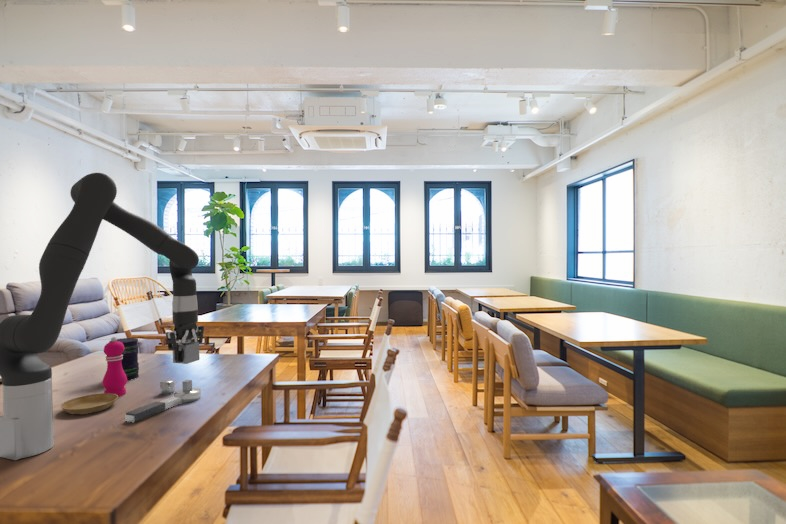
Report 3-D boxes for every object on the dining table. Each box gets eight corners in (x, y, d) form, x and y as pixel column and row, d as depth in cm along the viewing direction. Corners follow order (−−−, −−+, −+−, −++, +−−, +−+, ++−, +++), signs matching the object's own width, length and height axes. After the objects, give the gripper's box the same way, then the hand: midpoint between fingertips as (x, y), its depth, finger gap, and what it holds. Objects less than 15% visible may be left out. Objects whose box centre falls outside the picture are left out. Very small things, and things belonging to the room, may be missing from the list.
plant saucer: (129, 402, 139) (129, 394, 139) (85, 419, 125) (85, 410, 125) (94, 399, 143) (94, 391, 143) (48, 415, 129) (48, 406, 129)
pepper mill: (115, 398, 143) (113, 339, 143) (97, 397, 144) (95, 338, 144) (132, 391, 150) (131, 335, 150) (115, 390, 152) (113, 334, 151)
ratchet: (139, 424, 120) (139, 402, 120) (119, 420, 123) (118, 400, 123) (206, 396, 144) (205, 378, 144) (187, 394, 147) (187, 376, 147)
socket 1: (167, 395, 146) (166, 383, 146) (157, 394, 147) (157, 382, 147) (177, 391, 150) (177, 380, 150) (168, 390, 151) (167, 379, 151)
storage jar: (128, 381, 163) (127, 342, 162) (103, 382, 163) (102, 343, 163) (144, 374, 173) (143, 337, 172) (120, 374, 173) (119, 338, 173)
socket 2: (186, 363, 138) (185, 343, 138) (172, 362, 140) (172, 342, 140) (199, 359, 143) (199, 339, 143) (186, 358, 145) (186, 338, 145)
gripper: (193, 306, 149) (194, 354, 150) (158, 311, 136) (159, 364, 136) (210, 306, 147) (211, 355, 147) (176, 312, 133) (177, 366, 133)
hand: (186, 359), depth 141 cm, fingers closed on socket 2, 5 cm apart
